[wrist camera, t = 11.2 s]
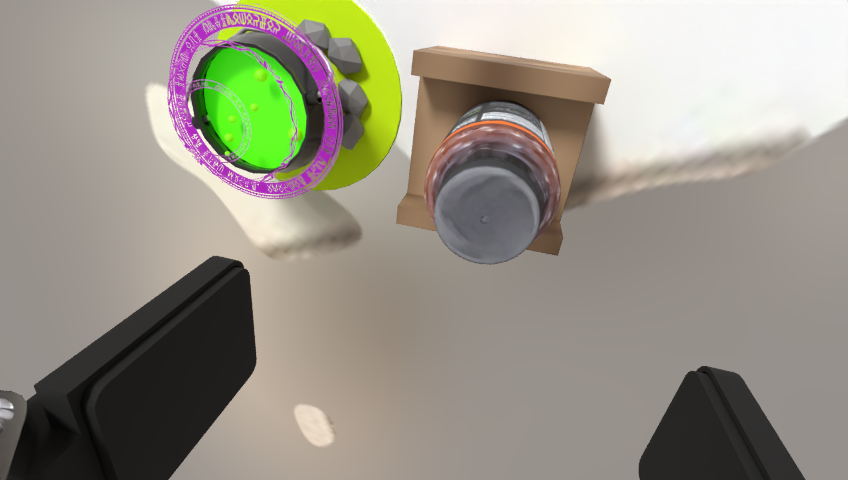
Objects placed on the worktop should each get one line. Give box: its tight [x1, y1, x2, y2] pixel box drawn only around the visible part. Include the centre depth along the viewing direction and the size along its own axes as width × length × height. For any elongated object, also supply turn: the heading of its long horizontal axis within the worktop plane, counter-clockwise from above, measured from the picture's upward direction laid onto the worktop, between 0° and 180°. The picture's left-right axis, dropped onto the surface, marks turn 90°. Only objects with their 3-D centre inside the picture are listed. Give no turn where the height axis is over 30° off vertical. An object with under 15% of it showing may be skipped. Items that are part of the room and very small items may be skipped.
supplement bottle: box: [424, 99, 561, 264], centre depth 21 cm, size 6×6×11 cm
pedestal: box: [396, 46, 611, 255], centre depth 27 cm, size 10×10×7 cm
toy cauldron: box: [168, 0, 402, 199], centre depth 27 cm, size 15×15×11 cm
